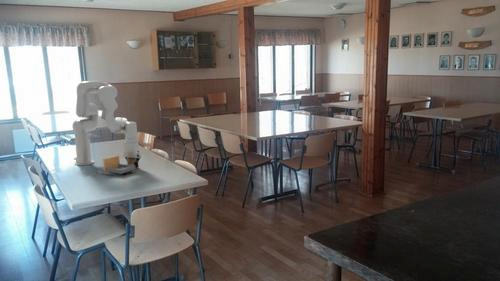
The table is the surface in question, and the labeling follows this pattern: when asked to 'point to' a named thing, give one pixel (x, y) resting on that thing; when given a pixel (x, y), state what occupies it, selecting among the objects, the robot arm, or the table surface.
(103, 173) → the rail track
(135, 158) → the robot arm
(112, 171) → the grey and tan frame
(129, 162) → the walnut block
